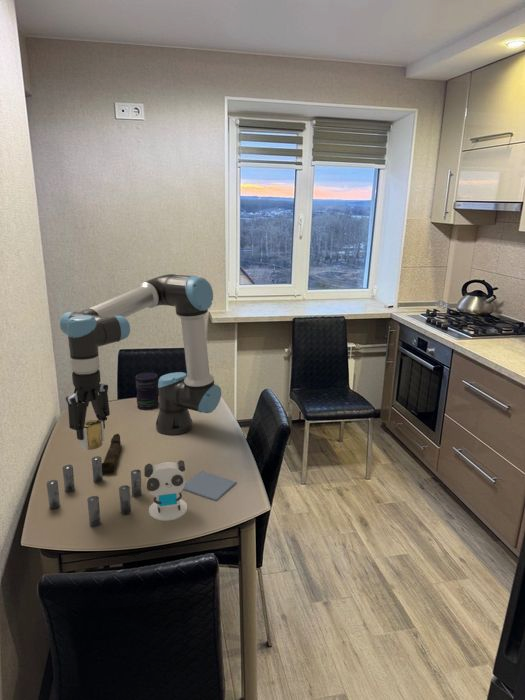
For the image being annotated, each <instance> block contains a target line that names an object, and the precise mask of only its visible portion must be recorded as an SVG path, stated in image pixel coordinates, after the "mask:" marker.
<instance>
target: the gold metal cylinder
mask: <svg viewBox="0 0 525 700" xmlns="http://www.w3.org/2000/svg"><path fill="white" fill-rule="evenodd" d="M84 428H86V429H87V439H88V450H87V451H90V450H92V451H93V450H97V449H100V448H101V447H102V446H103V442H102V434H101V422H100V421H98V420H96V419H89V420H85V425H84Z"/></svg>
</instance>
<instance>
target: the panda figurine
mask: <svg viewBox="0 0 525 700" xmlns="http://www.w3.org/2000/svg"><path fill="white" fill-rule="evenodd" d="M143 471H144V472H143V473H144V477H146V490H147V491H148V493H149V494H150V495H152V496H153V497H154V498H153V503H151V505H150V506H149V508H148V514H149V516H150V517H151V518H153V519H155V520H157V521H163V522H164V521H165V522H168V521H173V520H177V519H179V518H181V517H183V516H184V515H185V514H186V513H187V510H188V504H187V502H186V501H185V500H183V499H182V498H183V494H182V493H181V492H182V491H183V490H182V489H183V488H184V485H185V483H186V478H185V471H186V465H185V461H184V460H183V459H181V460H178V461H177V462H173V461H165V462H159V463H156V464H155V465H152V464H151V463H146V464H145V465H144V470H143Z"/></svg>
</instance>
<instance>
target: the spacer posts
mask: <svg viewBox="0 0 525 700" xmlns="http://www.w3.org/2000/svg"><path fill="white" fill-rule="evenodd" d="M102 463H103V462H102V457H101V456H99V455H96V456H93V457H92V458H91V466H92V469H91V470H92V479H93V483H96V484H99V483H101V482H103V480H104V478H103V476H104V474H103V473H102ZM62 474H63V475H62V476H63V485H64V492H66V493H71V492H73V491H75V489H76V488H75V487H76V486H75V475H74V466H73V465H72V464H66V465H63V466H62ZM130 481H131V482H130V484H131V487H130V486H129V485H127V484H124V485H121V486H119V488H118V492H119V494H118V495H119V509H120V514H121V515H122V516H126V515H130V514H131V513H132V503H131V496H132V497H133V498H140V497H141V496H143V492H142V491H143V489H142V488H143V487H142V486H143V485H142V472H141V470H140V469H133V470H131V471H130ZM130 489H131V490H130ZM46 491H47V498H48V508H49V509H51V510H55V509H56V510H57V509H58V508H60V507H61V500H60V491H59V481H58V480H57V479H51V480H49V481H47V482H46ZM87 509H88V522H89V526H90V527H91V528H97V527H99V526H100V525H101V521H102V520H101V511H100V510H101V508H100V499H99V496H98V495H91V496H90V497H88V498H87Z"/></svg>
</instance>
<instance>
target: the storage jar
mask: <svg viewBox="0 0 525 700" xmlns="http://www.w3.org/2000/svg"><path fill="white" fill-rule="evenodd" d="M158 383H159V378H158V374H157V373H155V372H141V373H137V374H136V375H135V389H136V404H137V406H136V407H137V409H138V410H140V411H152V410H153V411H154V410H155V409H158V408H159V392H158Z"/></svg>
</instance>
